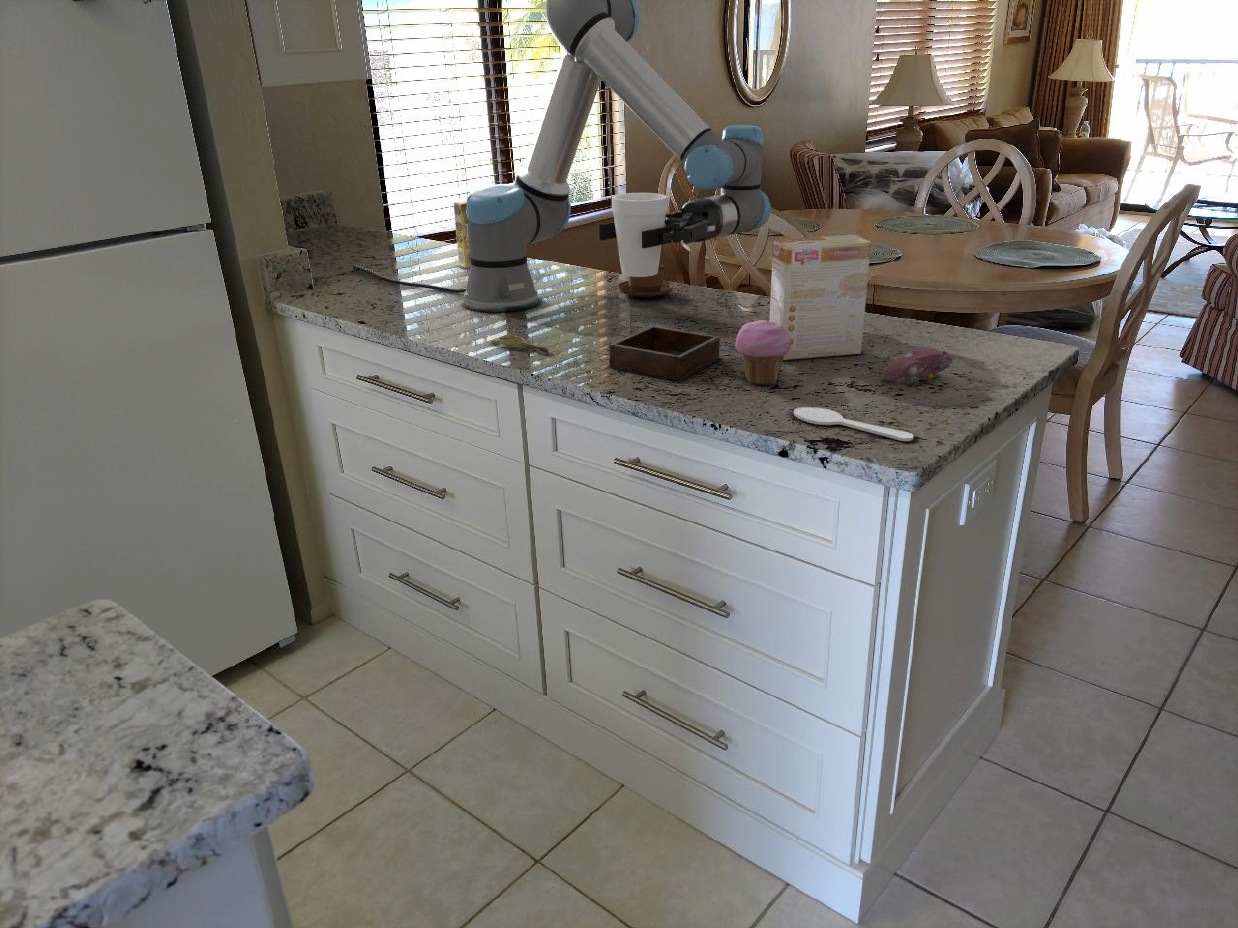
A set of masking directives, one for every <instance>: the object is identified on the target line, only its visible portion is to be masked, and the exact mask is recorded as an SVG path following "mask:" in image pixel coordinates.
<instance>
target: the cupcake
mask: <svg viewBox="0 0 1238 928" xmlns="http://www.w3.org/2000/svg"><path fill="white" fill-rule="evenodd" d="M734 347H735V349H736V351H737V352H739V353H740V354H741V358H742V360H743V366H744V374H745V377H746V380H747V381H748V382H749V383H751V384H757V385H766V386H772V385H774V384H776V383H777V380H778V378H779V375H780V371H781V369H782V366H783V362H784V360H783V359H784V355H786V354H787V353H788V352H789V350H790V348H791V341H790V336H789V334H788V332H787V330H786V329H785V328H783V326H782V325H781V324H779V323H776V322H772V321H769V320H766V319H760V320H759V319H758V320H755V321H751V322H746V323H745V324H743V325H742V326H741V328H740V329H739V331H738V333H737V335H736V340H735V346H734Z"/></svg>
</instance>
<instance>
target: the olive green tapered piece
mask: <svg viewBox="0 0 1238 928" xmlns="http://www.w3.org/2000/svg"><path fill="white" fill-rule="evenodd" d="M490 342H491V343H492V345H499V346H500V345H501V346H506V347H508V348H522V349H525V350H526V349H527V350H532V351H537V352H541V353H545V354H547V355H548V356H550V352H549V349H547V347H545V346H540V345H537V344H536V345H535V344H533V343H531V342H529V341H528V340H526V338H523V337H521V336H518V335H514V334H513V335H509V334H506V335H504V336H499V339H496V338H493V339H491V340H490Z"/></svg>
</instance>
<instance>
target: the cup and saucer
mask: <svg viewBox="0 0 1238 928" xmlns="http://www.w3.org/2000/svg"><path fill="white" fill-rule="evenodd" d="M666 275H667V270H666V268H665V266H664V265H663V264H661V263H659V268H658V273H657V274H656V275H653V276H646V277H633V276H628V280H626V281H622V282H620V283H619V284H618V285H617V289H618V290H619V291H620V293H622V294H624V295H627V296H629V297H630V296H631V297H635V298H656V297H660V296H665V295H667V294H669V293H671V292H672V291H673V290H674V288H675V284H674V283H672V282H670V281H667V280H664V279H665V278H666Z"/></svg>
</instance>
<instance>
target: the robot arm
mask: <svg viewBox="0 0 1238 928" xmlns="http://www.w3.org/2000/svg"><path fill="white" fill-rule="evenodd" d="M640 12H641V11H640V5H639V2H638V0H546V3H545V19H546V23H547V26H548V28H549V31H550V34H551V35H552V36H553V38H554V39H555V40H556V41H557V43H558V44H559V45H560V47H561V49H562V53H563V54H562V57H561V60H560V63H559V66H558V69H557V73H556V76H555V79H554V81H553V82H554V83H553V85H552V88H551V91H550V94H549V97H548V101H547V104H546V107H545V110H544V113H543V117H542V120H541V122H540V125H539V128H538V132H537V135H536V138H535V141H534V144H533V148H532V151H531V154H530V157H529V160H528V163H527V165H525V166H524V167H521V168H519V169H518V171H517V173H516V177H515V179H514V182H513V183H498V184H497V183H496V184H492V185H486V186H481V187H477V188H476V189H473V190H472V191H471V192H469V194H468V195H467V198H466V201H467V210H466V216H467V222H468V234H469V247H470V260H471V267H470V270H469V274H468V279H467V284H466V288H449V287H443V286H438V285H431V284H424V283H416V282H409V281H408V282H407V281H402V280H398V279H393V278H390V277H387V276H384V275H381V274H379V273H377V272H375V271H372V270H370V269H368V268H365V267H362V266H359V265H357V264H353V265H352V269H355V270H358V271H361V272H364V273H366V274H369V275H371V276H373V277H375V278H377V279H379V280H382V281H384V282H388V283H390V284H395V285H399V286H405V287H412V288H420V289H429V290H435V291H438V292H445V293H451V294H452V293H453V294H462V293H464V295H463V297H464V299H463V300H464V306H465V307H466V308H468V309H470V310H473V311H479V312H488V313H501V312H502V313H504V312H506V313H507V312H514V311H515V312H516V311H521V310H525V309H529V308H531V307H534V306H536V305H537V304H538V303H539V294H538V293H539V292H538V291H537V288H536V287H535V284H534V281H533V277H532V274H531V272H530V269H529V265H528V249H527V246H529V245H532V244H536V243H538V242H543V241H548V240H549V239H552V238H554V237H555V236H556V235H558V234H560V233H561V232H562V231H563V230H564V229H565V228H566V226H567V225H568V223H569V222H570V219H571V213H572V205H571V203H570V201H569V200H570V197H569V195H570V193H571V187H570V185H569V183H568V177H569V174H570V171H571V168H572V165H573V162H574V160H575V156H576V153H577V150H578V148H579V145H580V143H581V139H582V136H583V134H584V131H585V128H586V125H587V122H588V119H589V116H590V114H591V111H592V107H593V105H594V102H595V99H596V96H597V94H598V91H599V88H600V84H601V82H604V84H606V86H607V87H608V88H609V89H610V90H611V91H612V92H613V93H614V94H615V95H616V96H617V97H618V98H619V99H620V100H621V102H623V104H624V105H626V106H627V107H628V108H629V109H630V110H631V111H632V112H633V114H635V115H636V116H637V118H638V119H639V120H640V121H641V122H642V123H643V124H644V125H645V127H647V128H648V129H650V132H652V133H653V134H654V135H655V136H656V137H657V138H658V139H659V140H660V141H661V142H662V143H663V144H664V145H665V147H666V148H668V150H670V151H671V152H672V154H673V155H675V157H676V158H677V159H678V160H679V161H680V162H681V163H682V164H683V165H684V173H685V176H686V178H687V181H688V182H689V184H691V185H692V186H693V187H694V188H696V189H698V190H702V191H710V190H719V189H720V194H719V195H712V196H707V197H703V198H699V199H693V200H692V199H691V200H689V201H687V202H686V203H684V204H683V206H682V208H681V209H680V210H677V211H672V212H666V216H665V223H664V224H665V226H664V227H662V228H657V229H652V230H647V231H642V248H650V247H654V246H659V245H662V246H663V245H668V244H671V243H674V244H679V243H681V242H682V243H683V244H685V245H688V244H691V243H702V242H705V241H710V240H714V241H715V242H716V241H719V240H720V239H719V238H721V237H726V236H730V235H736V234H741V233H749V232H751V231H755V230H756V229H759V228H761V227H763V226H764V225H765V224H767V222H768V221H769V219H770V216H771V212H772V206H771V205H772V204H771V203H770V200H769V197H768V195H767V194H766V193H765V192H764V191H762V187H761V185H762V184H761V181H762V166H763V150H764V147H765V146H764V135H763V134H764V133H763V132H764V131H763V129H762V128H761V127H760V126H757V125H750V124H749V125H745V124H743V125H740V124H739V125H727V126H725V127H724V128H723V130H722V137H719V136H718V135H717V134H716V132H714V131H713V129H712V128H710V126H709V125H708V124H707V123H706V122H705V121H704V120H703V118H701V117H700V116H699V115H698V114H697V113H696V112H695V111H694V110H693V109H692V107H690V106H689V104H687V103H686V101H684V99H683V98H681V96H680V95H679V94H677V92H676V91H675V90H674V89H673V88H672V87H671V86H670V85H669V84H668V83H667V81H665V80H664V79H663V78H662V76H660V75H659V74H658V72H656V71H655V69H653V67H651V65H649V64H648V62H647V61H646V60H645V59H644V58H643V57H642V56H641V55H640V54H639V53H638V52H637V51H636V50H635V49H634V48H633V47H632V46H631V45H630V44H629V43H628V42H629V41H631V40H632V39H633V37H634V36H635V35H636V32H637V31H638V28H639V25H640V17H641V13H640ZM598 228H599V232H598V233H599V241H607V240H613V239H617V236H616V228H615V221H609V222H604V223H599V224H598ZM355 265H356V266H355ZM358 266H359V267H358ZM361 267H362V268H361ZM364 268H365V269H364ZM367 269H368V270H367ZM369 270H370V271H369ZM371 271H372V272H371ZM373 272H374V273H373ZM375 273H376V274H375ZM377 274H378V275H377ZM380 275H381V276H380Z"/></svg>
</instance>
